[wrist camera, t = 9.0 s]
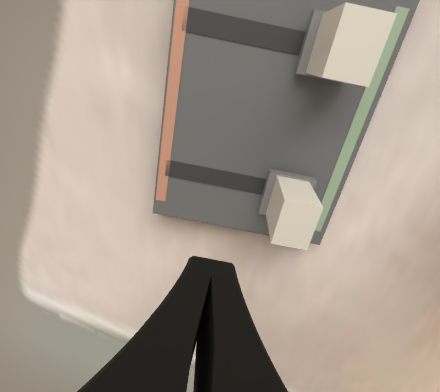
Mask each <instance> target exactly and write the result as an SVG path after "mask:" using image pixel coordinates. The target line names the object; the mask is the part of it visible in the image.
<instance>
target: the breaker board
mask: <svg viewBox="0 0 440 392" xmlns="http://www.w3.org/2000/svg"><path fill="white" fill-rule="evenodd" d="M419 1H420V0H174V7H173V17H172V27H171V37H170V47H169V57H168V67H167V77H166V87H165V97H164V107H163V117H162V127H161V137H160V147H159V157H158V167H157V177H156V187H155V197H154V207H153V213H156V214H161V215H166V216H171V217H176V218H182V219H187V220H192V221H197V222H203V223H208V224H213V225H218V226H223V227H229V228H234V229H239V230H244V231H249V232H255V233H260V234H265V235H269V230H268V224H267V218H266V215H263V214H258V207H259V203H260V200H261V196H262V192H263V189H264V185H265V182H266V178H267V174H268V171H269V169H274V170H279V171H284V172H289V173H294V174H299V175H304V176H309V177H314V178H315V179H316V181H317V183H316V186H315V189H314V191H315V193H316V195H317V197H318V199H319V200H320V202H321V204H322V206H323V211H322V213H321V216H320V218H319V221H318V223H317V226H316V229H315V231H314V234H313V236H312V239H311V241H310V243H312V244H317V245H320V243H321V240H322V238H323V235H324V233H325V230H326V228H327V226H328V223H329V221H330V218H331V216H332V213H333V211H334V208H335V206H336V204H337V201H338V199H339V196H340V194H341V191H342V189H343V186H344V184H345V182H346V179H347V177H348V174H349V172H350V169H351V167H352V164H353V162H354V160H355V157H356V155H357V152H358V150H359V147H360V145H361V142H362V140H363V138H364V135H365V133H366V130H367V128H368V125H369V123H370V120H371V118H372V116H373V113H374V111H375V108H376V106H377V103H378V101H379V98H380V96H381V94H382V91H383V89H384V86H385V84H386V81H387V79H388V76H389V74H390V72H391V69H392V67H393V64H394V62H395V59H396V57H397V54H398V52H399V50H400V47H401V45H402V42H403V40H404V37H405V35H406V32H407V30H408V28H409V25H410V23H411V20H412V18H413V15H414V13H415V10H416V8H417V6H418V3H419ZM345 2H347V3H352V4H356V5H361V6H365V7H370V8H375V9H379V10H384V11H389V12H393V13H397V16H396V18H395V21H394V23H393V26H392V28H391V31H390V34H389V36H388V39H387V41H386V44H385V47H384V49H383V52H382V54H381V57H380V59H379V62H378V65H377V67H376V70H375V72H374V75H373V78H372V80H371V83H370V85H369V87H365V86H360V85H355V84H351V85H349V84H344V83H339V82H334V81H329V80H325V79H320V78H315V77H310V76H305V75H301V74H296V73H294V72H295V69H296V65H297V61H298V58H299V54H300V51H301V47H302V43H303V40H304V36H305V33H306V29H307V25H308V22H309V18H310V14H311V11H312V10H314V9H317V10H322V11H329V10H331V9H333V8H335V7H337V6H339V5H341V4H343V3H345Z"/></svg>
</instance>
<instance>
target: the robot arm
mask: <svg viewBox="0 0 440 392" xmlns="http://www.w3.org/2000/svg"><path fill="white" fill-rule="evenodd" d="M196 341H197V346H196V360H195V375H194V391H193V392H288V391H287V389H286V387H285V386H284V384H283V382H282V380H281V378H280V377H279V375H278V373H277V371H276V369H275V367H274V365H273V363H272V361H271V359H270V357H269V355H268V353H267V351H266V349H265V347H264V345H263V343H262V341H261V339H260V337H259V334H258V332H257V330H256V327H255V325H254V323H253V320H252V318H251V315H250V313H249V310H248V308H247V305H246V303H245V300H244V297H243V294H242V291H241V288H240V285H239V282H238V278H237V275H236V271H235V267H234V265H233V264H232V263H228V262H223V261H218V260H212V259H207V258H202V257H197V256H192V257H190V258H189V260H188V263H187V265H186V267H185V269H184V270H183V272H182V274H181V276H180V277H179V279H178V280H177V282H176V283H175V285H174V286H173V288H172V289H171V290H170V292H169V293H168V295H167V296H166V297H165V299H164V300H163V302H162V303H161V304H160V305H159V307H158V308H157V309H156V310H155V312H154V313H153V314H152V315H151V316H150V318H149V319H148V320H147V321H146V322H145V324H144V325H143V326H142V327H141V328H140V330H139V331H138V332H137V333H136V334H135V335H134V336H133V337H132V338H131V339H130V341H129V342H128V343H127V344H126V345H125V346H124V347H123V348H122V349H121V350H120V351H119V352H118V353H117V354H116V355H115V356H114V357H113V358H112V359H111V360H110V361H109V362H108V363H107V364H106V365H105V366H104V367H103V368H102V369H101V370H100V371H99V372H98V373H97V374H96V375H95V376H94V377H92V379H90V380H89V381H88V382H87V383H86V384H85V385H84V386H83V387H82V388H81V389H80V390H78V391H77V392H186V390H187V383H188V376H189V369H190V365H191V361H192V357H193V353H194V349H195V345H196Z"/></svg>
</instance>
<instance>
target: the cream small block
mask: <svg viewBox="0 0 440 392" xmlns="http://www.w3.org/2000/svg"><path fill="white" fill-rule="evenodd" d="M396 16H397V13H393V12H389V11H384V10H379V9H375V8H370V7H365V6H361V5H356V4H352V3H347V2H345V3H343V4H341V5H339V6H337V7H335V8H333V9H331V10H329V11H322V10H317V9H314V10H312V11H311V14H310V18H309V22H308V25H307V29H306V33H305V36H304V40H303V43H302V47H301V51H300V54H299V58H298V61H297V65H296V69H295V72H294V73H296V74H301V75H305V76H310V77H315V78H320V79H325V80H329V81H334V82H339V83H344V84H349V85H351V84H355V85H360V86H365V87H369V85H370V83H371V80H372V78H373V75H374V72H375V70H376V67H377V65H378V62H379V59H380V57H381V54H382V52H383V49H384V47H385V44H386V41H387V39H388V36H389V34H390V31H391V28H392V26H393V23H394V21H395V18H396Z"/></svg>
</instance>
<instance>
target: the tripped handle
mask: <svg viewBox="0 0 440 392" xmlns="http://www.w3.org/2000/svg"><path fill="white" fill-rule="evenodd" d="M316 183H317V181H316V179H315V178H314V177H309V176H304V175H299V174H294V173H289V172H284V171H279V170H274V169H269V171H268V174H267V178H266V182H265V185H264V189H263V192H262V196H261V200H260V203H259V207H258V214H263V215H266V218H267V224H268V230H269V236H270V242H271V244H276V245H281V246H286V247H292V248H297V249H302V250H307V249H308V246H309V244H310V241H311V239H312V236H313V234H314V231H315V229H316V226H317V223H318V221H319V218H320V216H321V213H322V211H323V206H322V204H321V202H320V200H319V199H318V197H317V195H316V193H315V191H314V189H315V186H316Z"/></svg>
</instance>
